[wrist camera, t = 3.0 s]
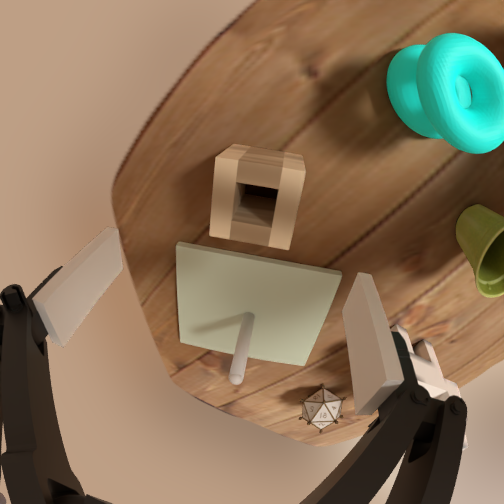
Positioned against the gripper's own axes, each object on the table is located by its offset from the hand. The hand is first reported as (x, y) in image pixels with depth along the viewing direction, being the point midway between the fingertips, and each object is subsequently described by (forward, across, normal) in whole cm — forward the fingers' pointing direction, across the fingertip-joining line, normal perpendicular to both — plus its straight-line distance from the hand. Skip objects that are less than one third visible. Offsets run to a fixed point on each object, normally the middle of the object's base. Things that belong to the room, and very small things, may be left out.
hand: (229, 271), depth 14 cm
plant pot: (+16, +27, +1) cm, 32 cm away
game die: (+16, +17, -36) cm, 43 cm away
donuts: (+16, +15, +14) cm, 26 cm away
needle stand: (+16, +1, -18) cm, 24 cm away
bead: (+16, 0, 0) cm, 16 cm away
